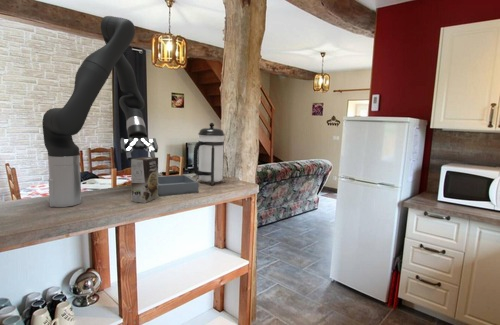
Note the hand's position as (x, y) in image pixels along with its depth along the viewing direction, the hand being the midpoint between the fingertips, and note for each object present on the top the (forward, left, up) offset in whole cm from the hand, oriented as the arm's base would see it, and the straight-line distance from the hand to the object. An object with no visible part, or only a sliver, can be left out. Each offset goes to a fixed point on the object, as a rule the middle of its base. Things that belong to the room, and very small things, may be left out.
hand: (141, 159), depth 117 cm
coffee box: (0, -7, -15) cm, 16 cm away
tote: (+14, +5, -14) cm, 21 cm away
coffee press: (+34, +12, -15) cm, 39 cm away
